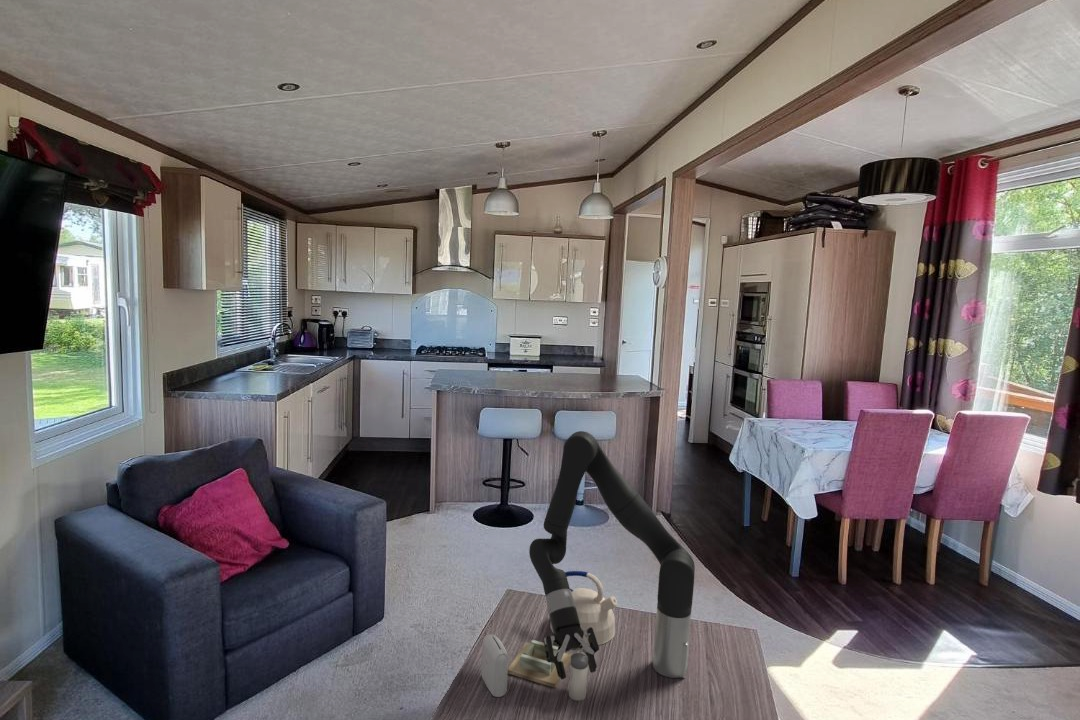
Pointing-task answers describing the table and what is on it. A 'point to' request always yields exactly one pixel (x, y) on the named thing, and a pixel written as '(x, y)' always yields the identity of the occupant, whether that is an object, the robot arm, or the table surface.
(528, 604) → the table surface
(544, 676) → the holder
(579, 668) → the grey and white cylinder
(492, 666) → the photo printer
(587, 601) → the kettle
